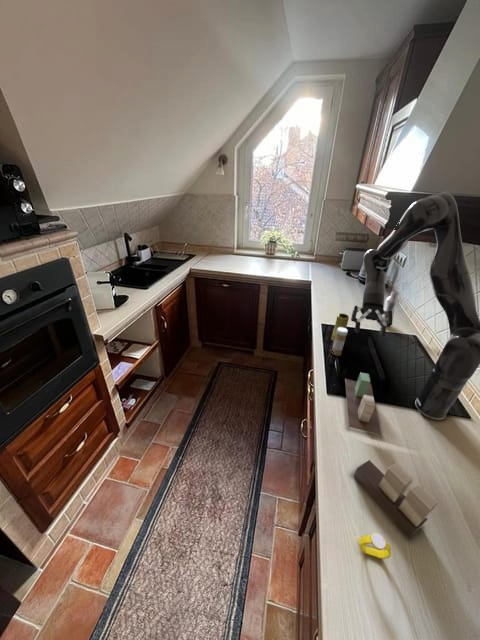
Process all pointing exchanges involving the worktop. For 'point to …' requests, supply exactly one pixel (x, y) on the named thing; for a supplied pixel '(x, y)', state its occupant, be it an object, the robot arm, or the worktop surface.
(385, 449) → the worktop surface
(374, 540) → the watch
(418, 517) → the stand
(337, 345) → the sprinkles bottle
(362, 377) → the green flat piece
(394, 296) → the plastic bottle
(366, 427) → the near board
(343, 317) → the vase
